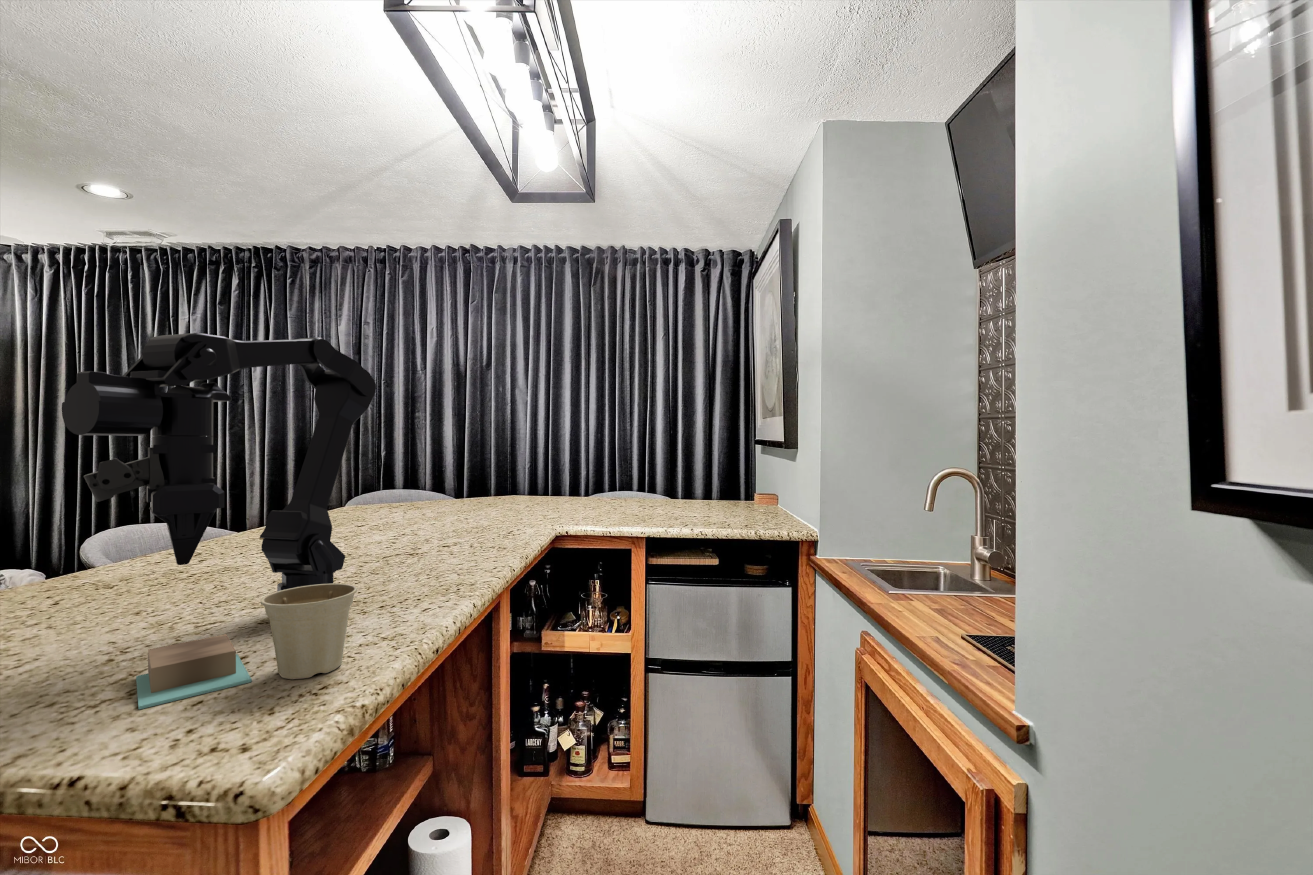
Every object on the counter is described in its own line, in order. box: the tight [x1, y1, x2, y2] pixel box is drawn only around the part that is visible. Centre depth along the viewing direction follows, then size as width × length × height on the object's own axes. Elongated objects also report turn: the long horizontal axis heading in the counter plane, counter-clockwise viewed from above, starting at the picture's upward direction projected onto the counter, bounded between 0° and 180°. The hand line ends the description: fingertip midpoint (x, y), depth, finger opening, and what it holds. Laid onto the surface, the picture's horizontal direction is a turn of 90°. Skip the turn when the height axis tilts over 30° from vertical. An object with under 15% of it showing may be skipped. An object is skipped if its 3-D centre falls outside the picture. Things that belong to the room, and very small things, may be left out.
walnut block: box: [147, 633, 237, 693], centre depth 63 cm, size 7×2×8 cm
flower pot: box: [260, 582, 358, 680], centre depth 64 cm, size 9×9×9 cm
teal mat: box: [135, 653, 252, 710], centre depth 61 cm, size 9×10×1 cm
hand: (182, 564), depth 69 cm, fingers closed
